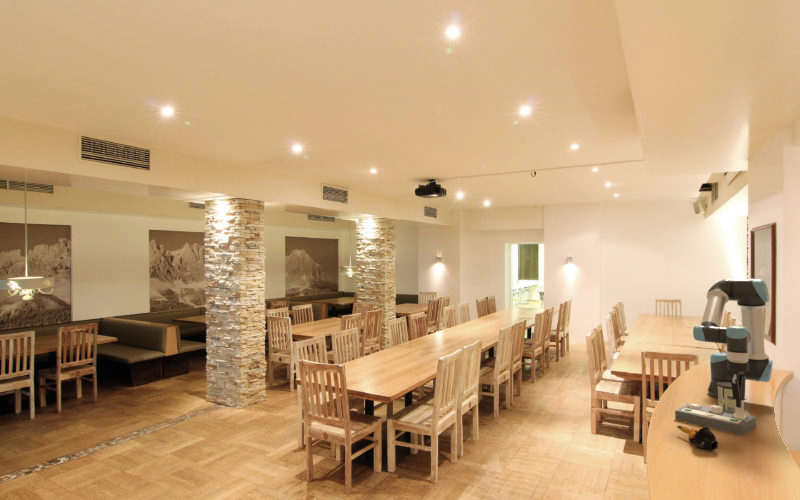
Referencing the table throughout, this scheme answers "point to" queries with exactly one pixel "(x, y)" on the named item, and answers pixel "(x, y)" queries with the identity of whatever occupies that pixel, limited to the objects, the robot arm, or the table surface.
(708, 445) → the black bulb with handle
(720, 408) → the middle button
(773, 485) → the table surface
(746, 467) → the table surface
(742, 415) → the end button
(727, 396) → the coffee can
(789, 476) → the table surface
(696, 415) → the button board
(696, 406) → the end button
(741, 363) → the robot arm
